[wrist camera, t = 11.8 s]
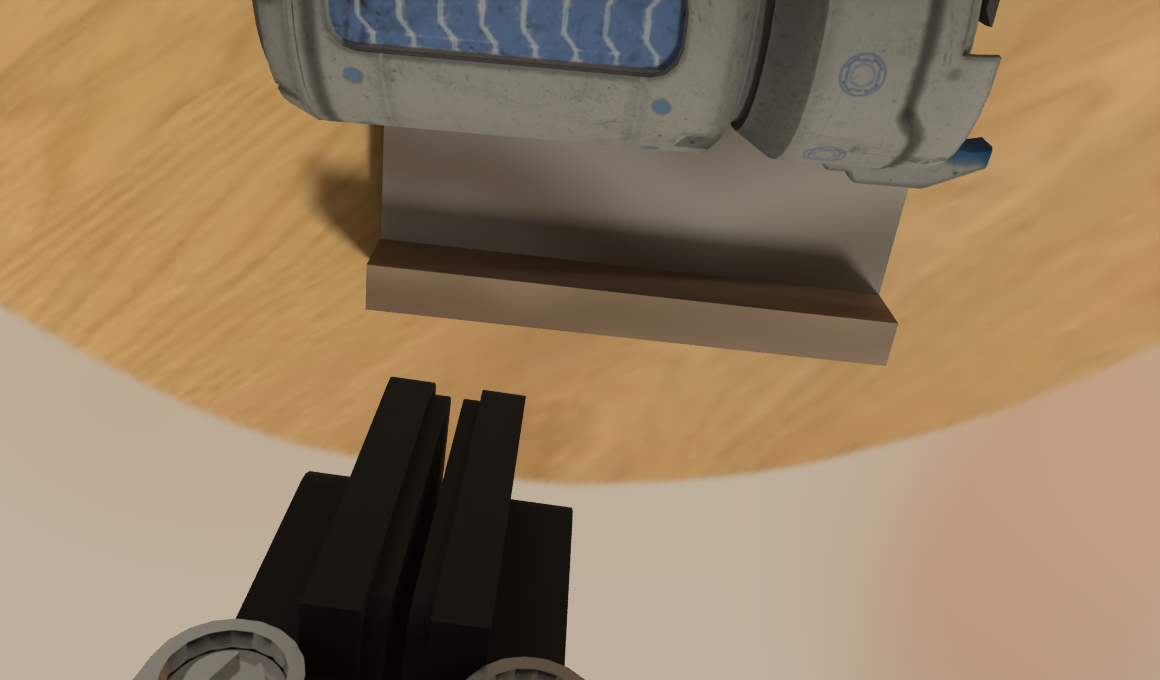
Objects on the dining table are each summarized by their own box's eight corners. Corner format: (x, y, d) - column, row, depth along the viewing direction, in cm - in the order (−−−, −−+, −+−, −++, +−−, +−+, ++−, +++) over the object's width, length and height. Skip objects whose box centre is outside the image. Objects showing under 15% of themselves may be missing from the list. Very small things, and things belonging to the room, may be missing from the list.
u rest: (400, -272, 35) (379, -286, 31) (1002, -189, 36) (1049, -194, 32) (383, 272, 44) (365, 309, 40) (861, 325, 45) (885, 366, 41)
